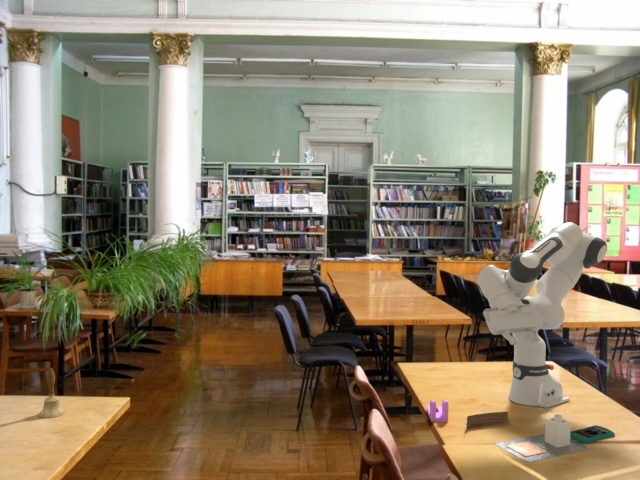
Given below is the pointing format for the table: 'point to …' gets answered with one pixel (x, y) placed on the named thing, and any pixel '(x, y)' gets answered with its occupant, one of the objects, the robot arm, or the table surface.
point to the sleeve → (557, 432)
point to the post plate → (539, 447)
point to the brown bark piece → (487, 419)
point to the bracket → (438, 411)
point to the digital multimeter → (591, 434)
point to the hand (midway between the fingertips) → (525, 342)
